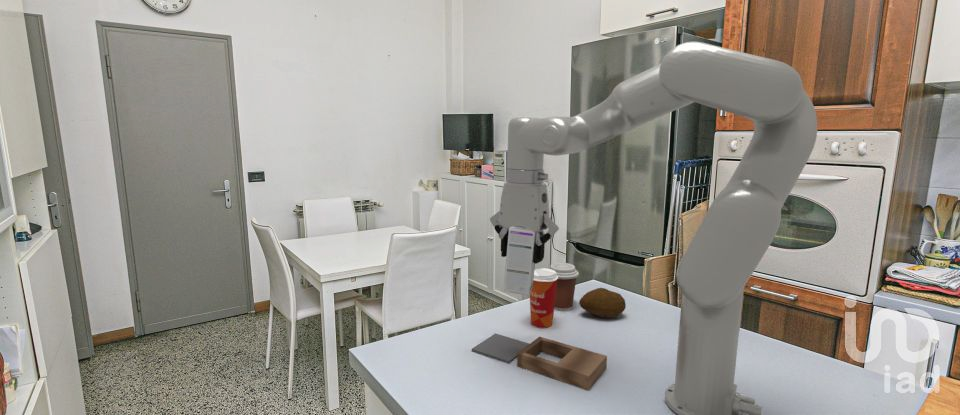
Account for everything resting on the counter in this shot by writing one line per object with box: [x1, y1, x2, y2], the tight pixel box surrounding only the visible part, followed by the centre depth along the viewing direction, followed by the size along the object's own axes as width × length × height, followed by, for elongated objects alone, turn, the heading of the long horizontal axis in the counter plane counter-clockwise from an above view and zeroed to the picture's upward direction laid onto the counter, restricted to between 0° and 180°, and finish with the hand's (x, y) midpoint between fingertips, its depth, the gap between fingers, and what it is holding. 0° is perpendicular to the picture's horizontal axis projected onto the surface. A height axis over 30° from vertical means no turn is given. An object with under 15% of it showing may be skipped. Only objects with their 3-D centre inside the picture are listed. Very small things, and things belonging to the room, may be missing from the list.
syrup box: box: [503, 226, 536, 297], centre depth 101 cm, size 6×6×14 cm
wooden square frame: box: [516, 336, 608, 391], centre depth 98 cm, size 16×10×3 cm, turn 55°
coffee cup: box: [548, 262, 580, 312], centre depth 132 cm, size 9×9×12 cm
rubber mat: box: [471, 332, 531, 364], centre depth 107 cm, size 10×10×1 cm
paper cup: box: [529, 267, 558, 329], centre depth 120 cm, size 8×8×14 cm
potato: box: [578, 287, 627, 319], centre depth 126 cm, size 8×12×8 cm, turn 96°
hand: (521, 258), depth 101 cm, fingers closed on syrup box, 7 cm apart
